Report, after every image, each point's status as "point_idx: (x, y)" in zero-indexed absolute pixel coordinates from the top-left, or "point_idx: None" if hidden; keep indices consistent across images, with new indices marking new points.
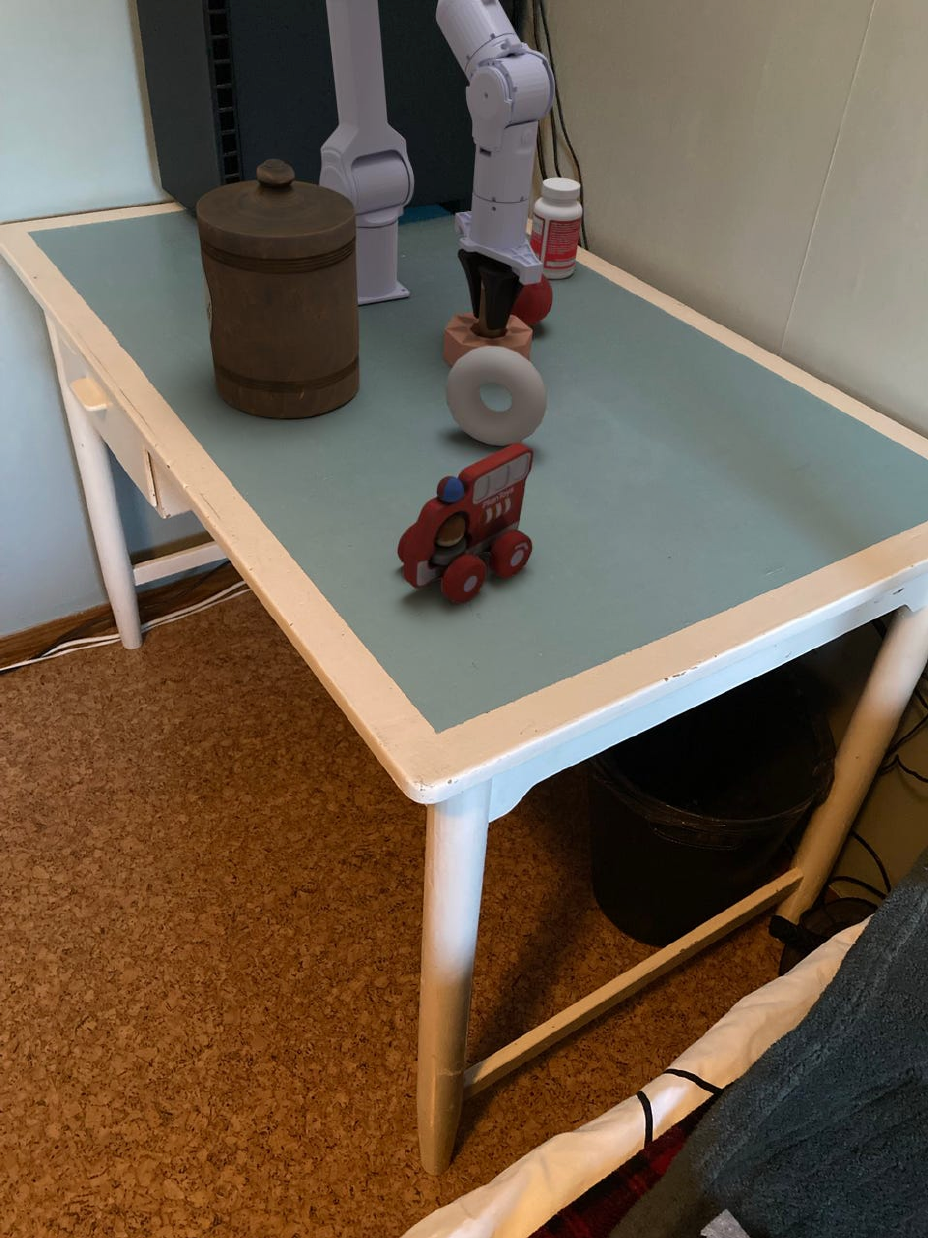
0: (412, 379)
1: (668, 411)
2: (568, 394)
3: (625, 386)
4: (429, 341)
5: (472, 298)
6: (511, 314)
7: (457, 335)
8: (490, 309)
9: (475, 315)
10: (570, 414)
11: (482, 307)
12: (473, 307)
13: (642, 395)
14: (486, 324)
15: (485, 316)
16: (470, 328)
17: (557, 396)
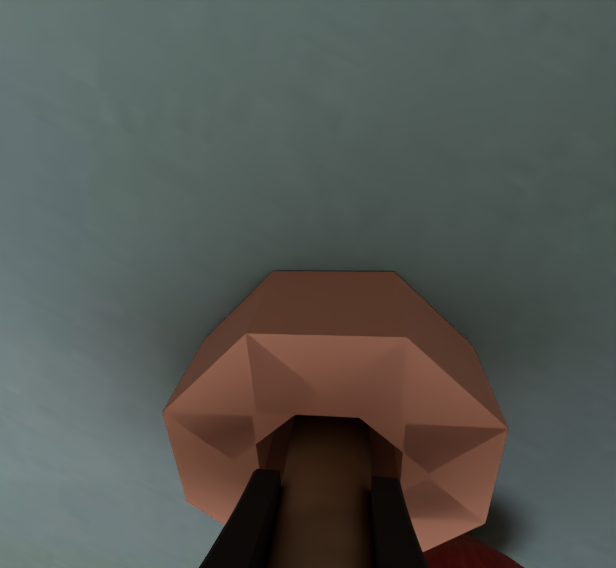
0: (289, 83)
1: (22, 552)
2: (103, 455)
3: (122, 548)
4: (537, 286)
5: (399, 558)
6: (449, 558)
7: (324, 355)
8: (200, 565)
9: (378, 485)
10: (11, 415)
11: (306, 545)
12: (387, 514)
13: (84, 551)
14: (276, 480)
15: (292, 510)
16: (371, 424)
17: (97, 432)
